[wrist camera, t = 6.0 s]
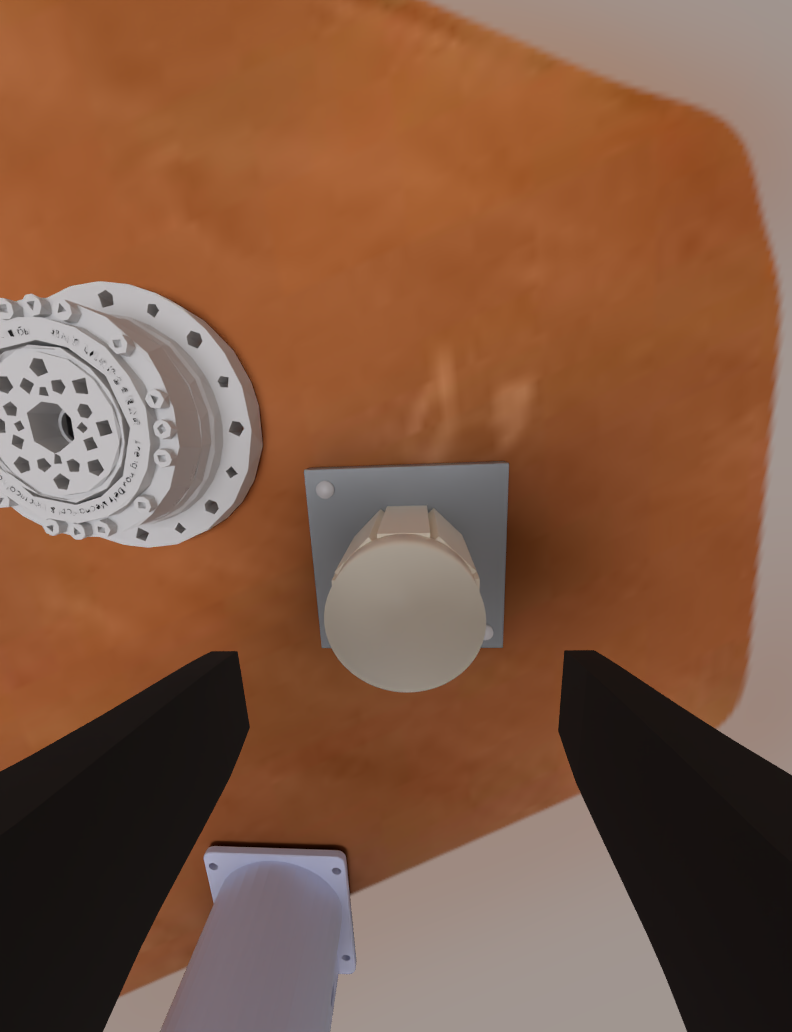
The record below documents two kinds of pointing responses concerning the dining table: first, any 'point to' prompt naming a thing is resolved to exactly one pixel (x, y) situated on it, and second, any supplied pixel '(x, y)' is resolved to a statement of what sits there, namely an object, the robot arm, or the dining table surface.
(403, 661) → the wire nut
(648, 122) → the dining table surface
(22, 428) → the mechanical component
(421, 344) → the dining table surface
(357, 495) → the plate
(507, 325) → the dining table surface
